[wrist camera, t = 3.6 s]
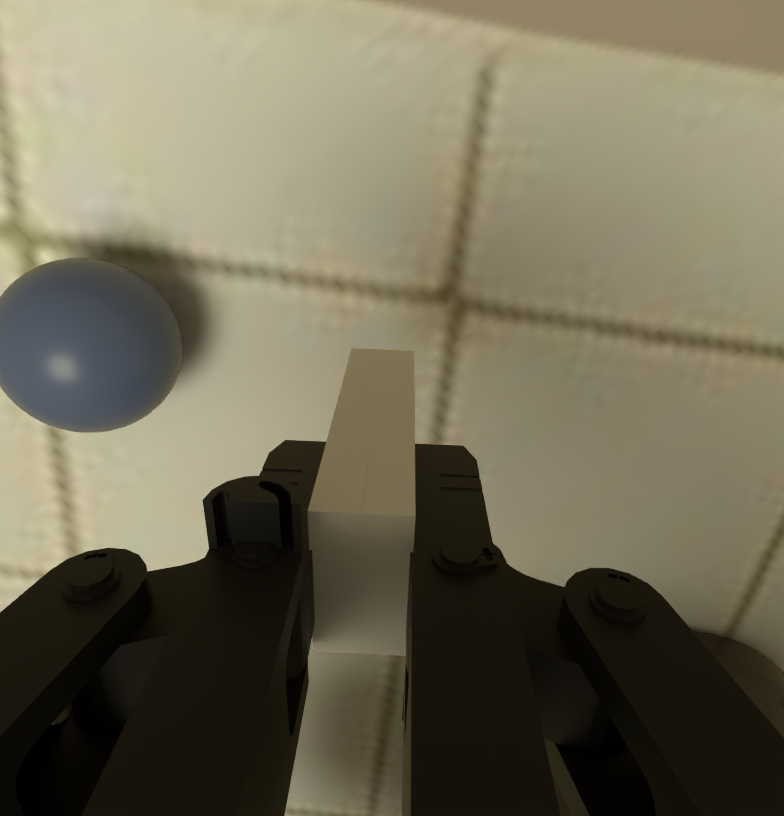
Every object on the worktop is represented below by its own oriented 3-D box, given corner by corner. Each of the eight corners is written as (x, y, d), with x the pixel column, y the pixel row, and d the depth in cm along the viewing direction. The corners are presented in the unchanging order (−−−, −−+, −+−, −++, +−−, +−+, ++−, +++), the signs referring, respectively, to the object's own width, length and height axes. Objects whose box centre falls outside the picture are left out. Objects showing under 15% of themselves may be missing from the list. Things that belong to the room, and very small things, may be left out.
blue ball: (196, 247, 20) (123, 283, 15) (212, 394, 22) (153, 468, 17) (37, 241, 20) (-89, 275, 15) (69, 388, 22) (-30, 461, 17)
